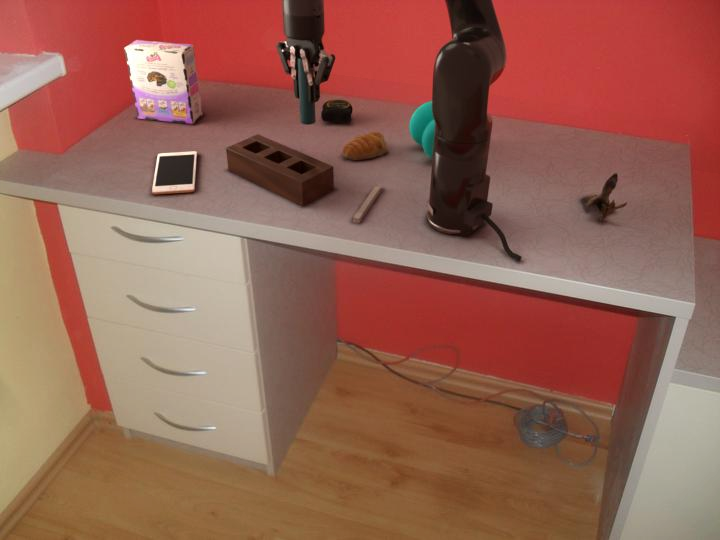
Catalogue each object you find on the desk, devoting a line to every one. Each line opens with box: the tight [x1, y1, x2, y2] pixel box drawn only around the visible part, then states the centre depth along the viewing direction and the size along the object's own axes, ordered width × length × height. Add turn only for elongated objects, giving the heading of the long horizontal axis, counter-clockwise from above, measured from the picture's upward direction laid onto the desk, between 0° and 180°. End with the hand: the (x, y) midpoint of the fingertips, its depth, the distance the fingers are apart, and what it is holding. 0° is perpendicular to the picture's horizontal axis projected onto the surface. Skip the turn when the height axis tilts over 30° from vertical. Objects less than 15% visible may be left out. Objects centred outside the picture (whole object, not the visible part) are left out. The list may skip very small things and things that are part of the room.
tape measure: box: [320, 98, 353, 124], centre depth 159 cm, size 7×7×4 cm
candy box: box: [123, 39, 203, 125], centre depth 156 cm, size 14×6×16 cm, turn 77°
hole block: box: [225, 133, 335, 207], centre depth 136 cm, size 8×21×5 cm, turn 49°
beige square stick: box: [352, 184, 382, 224], centre depth 129 cm, size 12×1×1 cm, turn 160°
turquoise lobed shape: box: [408, 100, 435, 160], centre depth 144 cm, size 10×10×10 cm
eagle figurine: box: [580, 172, 628, 222], centre depth 127 cm, size 8×7×9 cm
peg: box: [297, 57, 316, 126], centre depth 136 cm, size 3×3×13 cm
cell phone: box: [151, 150, 198, 195], centre depth 138 cm, size 8×16×1 cm, turn 9°
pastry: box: [342, 130, 389, 161], centre depth 146 cm, size 9×7×4 cm
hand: (307, 99), depth 137 cm, fingers closed on peg, 3 cm apart
